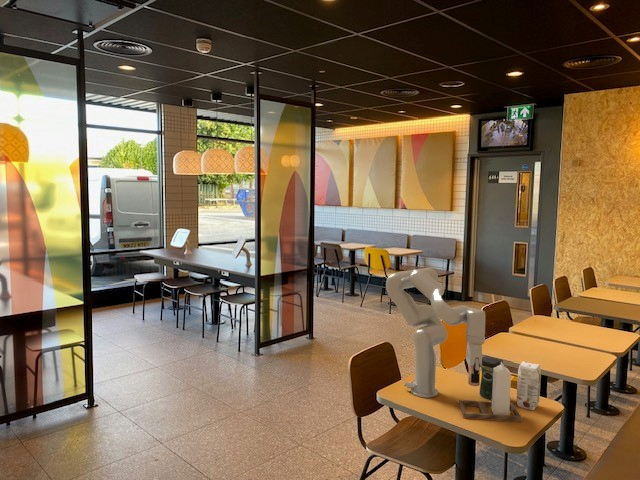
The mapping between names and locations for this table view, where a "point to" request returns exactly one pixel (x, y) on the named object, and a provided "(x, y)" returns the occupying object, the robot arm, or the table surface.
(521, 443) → the table surface
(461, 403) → the organizer
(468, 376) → the shaker
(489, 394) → the coffee jar
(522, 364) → the juice carton
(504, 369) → the milk
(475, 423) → the table surface
